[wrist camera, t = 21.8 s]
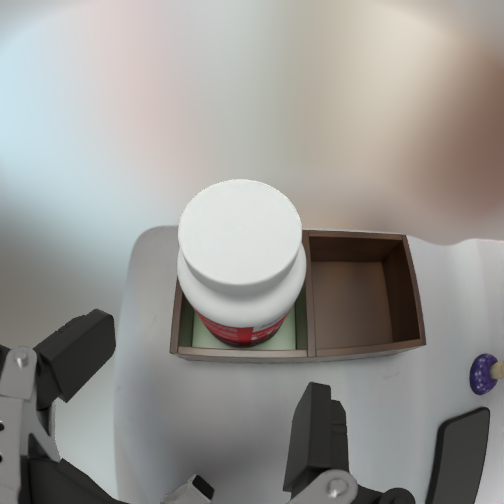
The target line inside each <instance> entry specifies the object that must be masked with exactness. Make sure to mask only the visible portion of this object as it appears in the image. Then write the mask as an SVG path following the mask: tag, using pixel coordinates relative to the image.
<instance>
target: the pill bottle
mask: <svg viewBox="0 0 504 504" xmlns="http://www.w3.org/2000/svg"><path fill="white" fill-rule="evenodd" d="M301 240H302V225H301V220H300V217H299V215H298V212H297V210H296V209H295V207H294V205H293V204H292V203H291V201H290V200H289V199H288V198H287V197H286V196H285V195H284V194H282V193H281V192H280V191H278V190H277V189H275V188H273V187H271V186H270V185H267V184H265V183H262V182H258V181H254V180H247V179H235V180H227V181H223V182H220V183H216V184H214V185H211V186H209V187H207V188H206V189H204V190H203V191H201V192H200V193H199V194H197V195H196V196H195V197H194V198H193V199H192V200H191V201H190V202H189V204H188V205H187V206H186V208H185V210H184V211H183V214H182V216H181V218H180V222H179V227H178V241H179V246H180V249H179V254H178V259H177V272H178V279H179V282H180V286H181V288H182V290H183V292H184V294H185V296H186V298H187V300H188V301H189V303H190V304H191V306H192V307H193V309H194V310H195V312H196V313H197V315H198V316H199V318H200V319H201V321H202V322H203V324H204V325H205V326H206V328H207V329H208V331H209V332H210V333H211V334H212V335H213V336H214V337H215V338H217V339H218V340H220V341H221V342H223V343H225V344H227V345H230V346H234V347H243V348H245V347H253V346H257V345H259V344H262V343H264V342H266V341H267V340H269V339H270V338H271V337H273V336H274V335H275V334H276V332H277V331H278V330H279V328H280V327H281V325H282V324H283V322H284V320H285V318H286V317H287V315H288V313H289V311H290V310H291V308H292V306H293V304H294V302H295V301H296V299H297V297H298V295H299V293H300V291H301V288H302V286H303V283H304V279H305V274H306V255H305V251H304V247H303V244H302V242H301Z"/></svg>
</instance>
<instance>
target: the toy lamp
mask: <svg viewBox="0 0 504 504" xmlns="http://www.w3.org/2000/svg"><path fill="white" fill-rule="evenodd" d="M503 377H504V361H497V359H496V358H495V357H494V356H492V355H490V354H482V355H480V356H478V357H477V358H476V359H475V361H474V363H473V365H472V368H471V372H470V384H471V388H472V390H473V391H474V392H475V393H476V394H478V395H483V394H485V393H487V392H489V391H490V390H492V389H493V387H494V386H495V385H496V383H497V381H498V379H501V378H503Z"/></svg>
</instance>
